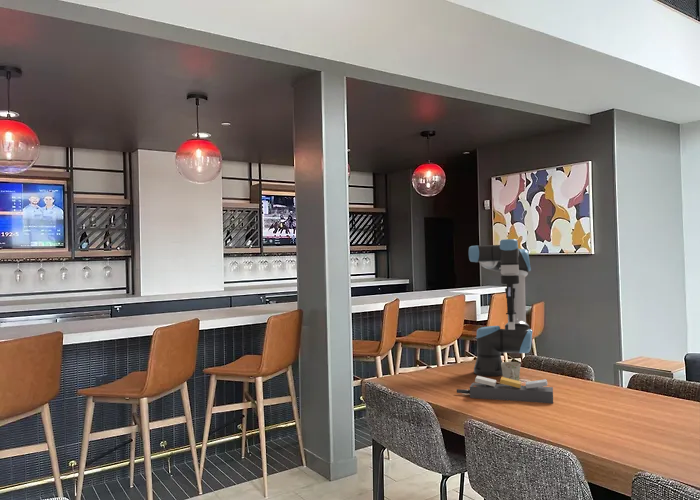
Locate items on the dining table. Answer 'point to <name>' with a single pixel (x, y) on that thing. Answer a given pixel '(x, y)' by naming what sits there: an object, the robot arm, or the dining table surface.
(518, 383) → the block
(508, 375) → the mug
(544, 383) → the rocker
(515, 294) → the robot arm
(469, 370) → the dining table surface
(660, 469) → the dining table surface
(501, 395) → the power strip
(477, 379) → the block
